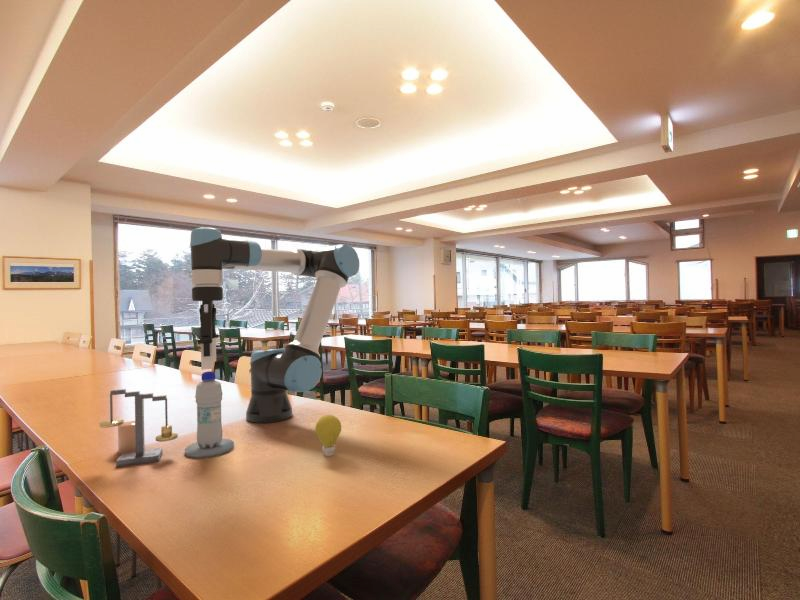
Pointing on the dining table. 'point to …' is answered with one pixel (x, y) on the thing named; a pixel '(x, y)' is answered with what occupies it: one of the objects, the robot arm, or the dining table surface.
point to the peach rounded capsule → (126, 437)
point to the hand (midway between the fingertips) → (209, 365)
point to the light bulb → (328, 432)
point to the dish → (209, 449)
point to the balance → (140, 430)
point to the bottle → (209, 411)
